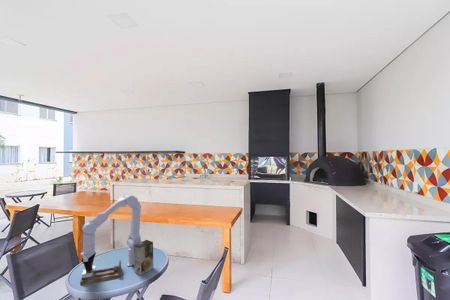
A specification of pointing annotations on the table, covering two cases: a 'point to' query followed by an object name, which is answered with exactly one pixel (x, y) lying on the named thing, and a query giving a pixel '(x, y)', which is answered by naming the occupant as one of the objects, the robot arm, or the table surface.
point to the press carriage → (89, 272)
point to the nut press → (103, 274)
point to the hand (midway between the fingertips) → (89, 268)
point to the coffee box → (143, 257)
